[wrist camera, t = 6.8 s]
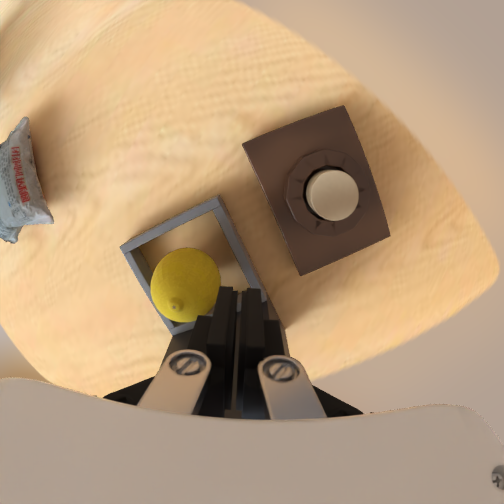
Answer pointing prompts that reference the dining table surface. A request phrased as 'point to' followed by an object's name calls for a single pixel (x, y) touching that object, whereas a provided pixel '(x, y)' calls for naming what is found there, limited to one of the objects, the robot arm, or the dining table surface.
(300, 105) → the dining table surface
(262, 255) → the dining table surface
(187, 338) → the stand
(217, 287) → the lemon
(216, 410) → the robot arm
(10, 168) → the packaged food
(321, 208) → the button
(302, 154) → the block
